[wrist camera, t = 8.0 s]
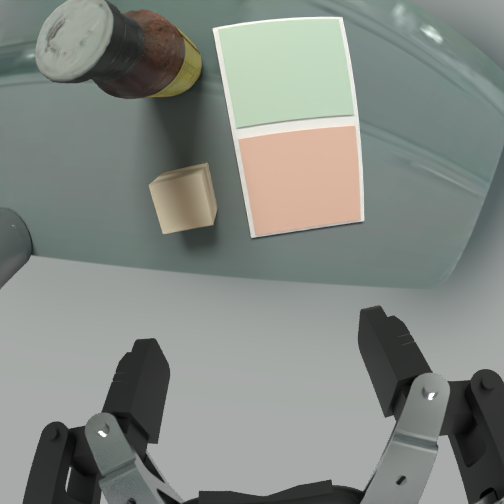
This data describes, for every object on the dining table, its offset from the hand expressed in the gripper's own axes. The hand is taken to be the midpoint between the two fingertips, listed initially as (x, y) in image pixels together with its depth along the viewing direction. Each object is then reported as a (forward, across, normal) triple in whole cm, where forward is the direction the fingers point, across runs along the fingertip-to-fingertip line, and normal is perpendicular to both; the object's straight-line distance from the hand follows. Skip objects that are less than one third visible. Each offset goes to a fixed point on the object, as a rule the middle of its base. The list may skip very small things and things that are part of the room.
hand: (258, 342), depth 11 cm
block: (+22, +6, -1) cm, 23 cm away
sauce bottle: (+23, +5, -14) cm, 27 cm away
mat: (+22, -6, -6) cm, 24 cm away
